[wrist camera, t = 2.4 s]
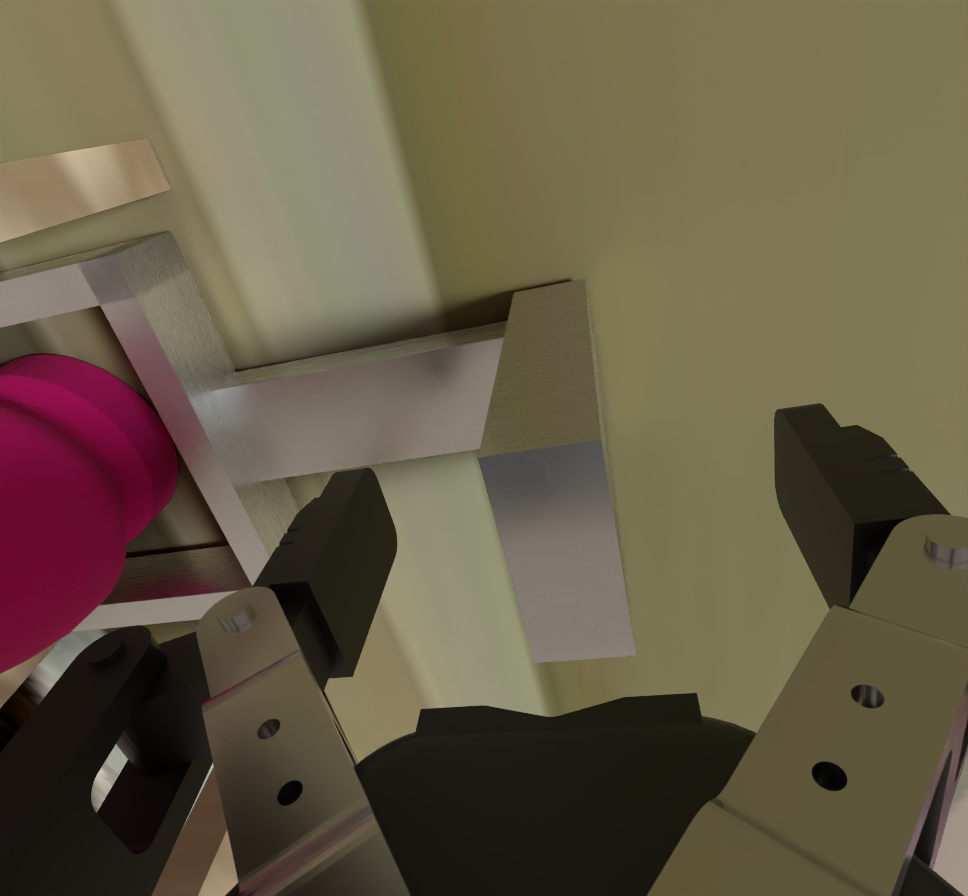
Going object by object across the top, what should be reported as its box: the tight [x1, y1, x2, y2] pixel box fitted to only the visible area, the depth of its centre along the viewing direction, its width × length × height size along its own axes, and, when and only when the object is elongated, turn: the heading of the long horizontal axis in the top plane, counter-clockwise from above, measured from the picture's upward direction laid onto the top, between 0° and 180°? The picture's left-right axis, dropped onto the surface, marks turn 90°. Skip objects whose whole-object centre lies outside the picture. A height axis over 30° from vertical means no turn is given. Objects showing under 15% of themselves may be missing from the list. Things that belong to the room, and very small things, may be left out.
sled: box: [0, 231, 636, 663], centre depth 16 cm, size 11×22×8 cm, turn 103°
